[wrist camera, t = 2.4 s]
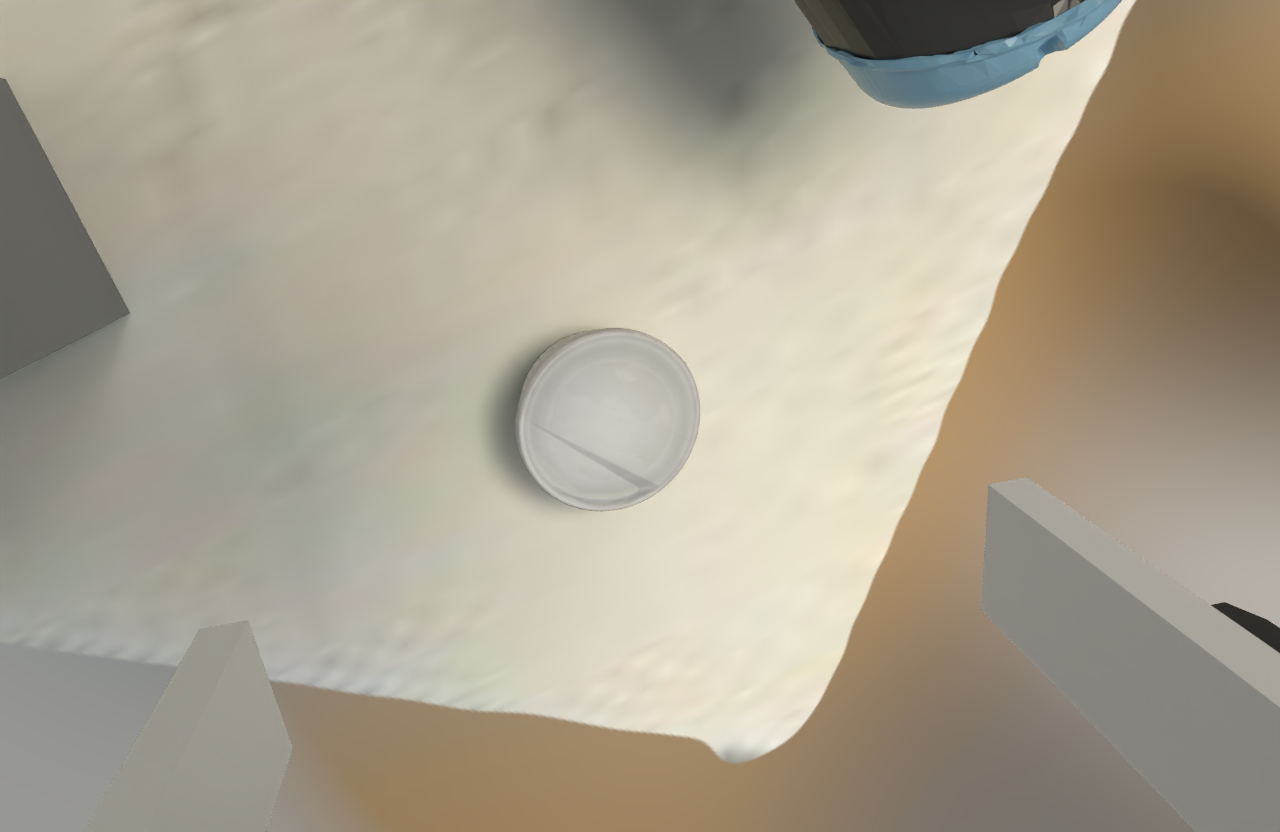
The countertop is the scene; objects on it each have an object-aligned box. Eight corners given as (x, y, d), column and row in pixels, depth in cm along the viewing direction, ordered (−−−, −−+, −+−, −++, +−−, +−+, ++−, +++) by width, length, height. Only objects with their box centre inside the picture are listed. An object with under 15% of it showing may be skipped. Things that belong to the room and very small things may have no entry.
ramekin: (508, 491, 52) (521, 522, 47) (501, 320, 49) (514, 334, 44) (671, 474, 55) (699, 502, 50) (674, 313, 52) (704, 326, 47)
